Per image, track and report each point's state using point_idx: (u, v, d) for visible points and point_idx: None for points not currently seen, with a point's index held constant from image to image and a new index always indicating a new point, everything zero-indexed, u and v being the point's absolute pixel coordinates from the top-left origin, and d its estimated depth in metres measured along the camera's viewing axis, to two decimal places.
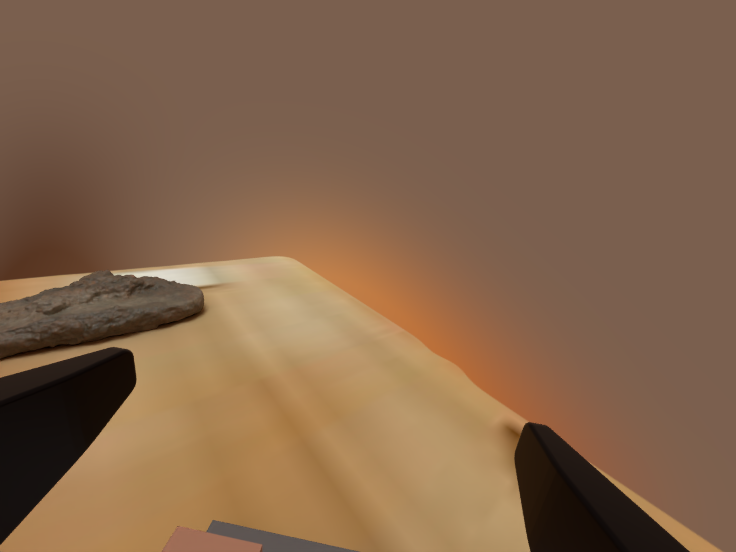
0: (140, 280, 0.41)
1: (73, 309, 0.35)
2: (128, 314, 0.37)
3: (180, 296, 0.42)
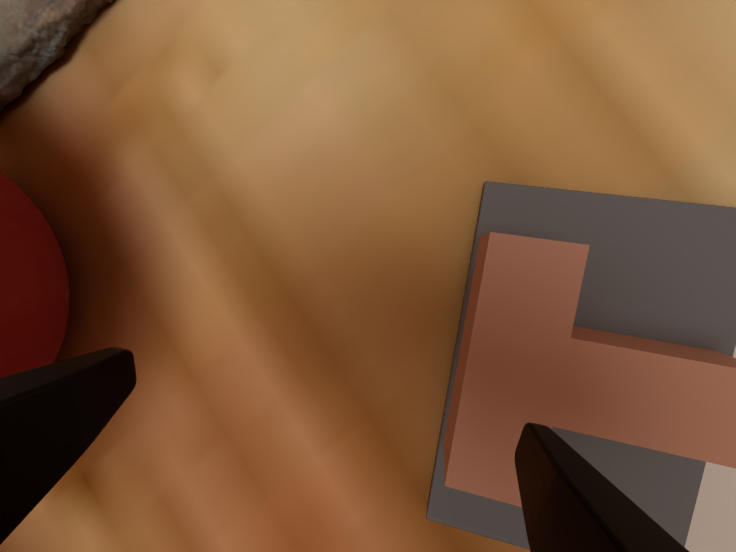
0: None
1: None
2: None
3: None
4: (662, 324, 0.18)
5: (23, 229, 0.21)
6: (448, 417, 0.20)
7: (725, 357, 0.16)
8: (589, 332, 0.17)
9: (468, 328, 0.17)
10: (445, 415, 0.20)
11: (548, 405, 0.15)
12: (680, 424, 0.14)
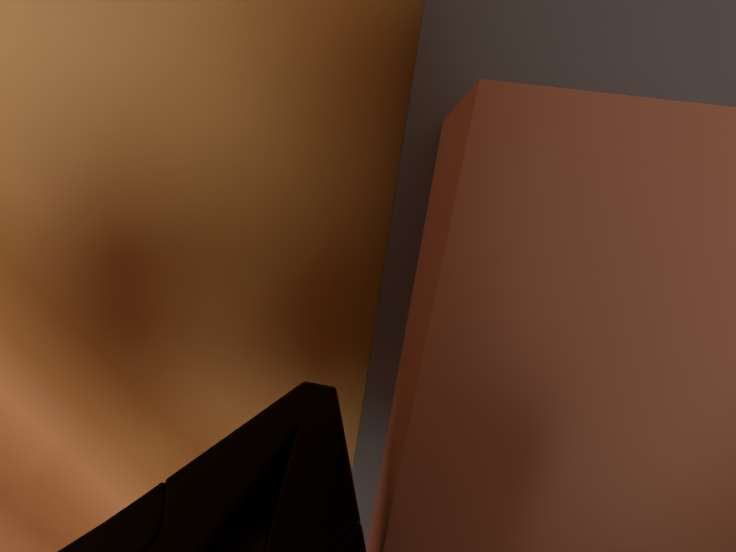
0: None
1: None
2: None
3: None
4: None
5: None
6: (373, 514, 0.10)
7: None
8: None
9: (401, 399, 0.06)
10: None
11: None
12: None
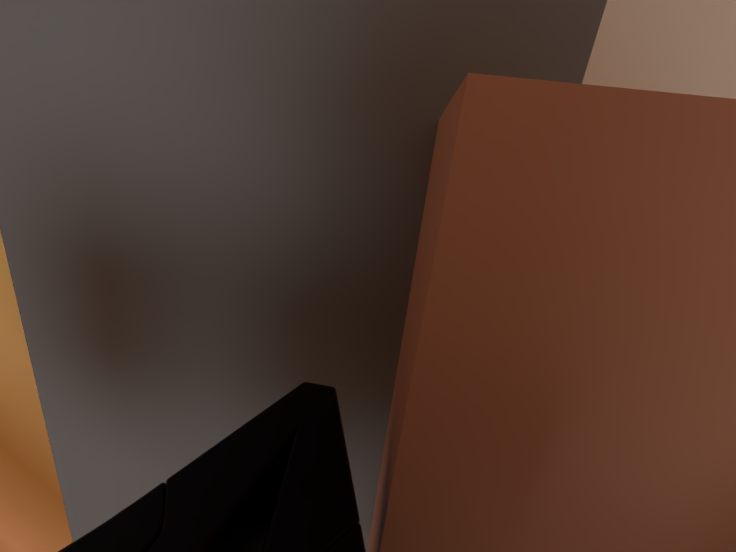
0: None
1: None
2: None
3: None
4: (374, 272, 0.08)
5: None
6: (374, 510, 0.10)
7: None
8: None
9: (399, 392, 0.06)
10: (48, 433, 0.11)
11: None
12: None
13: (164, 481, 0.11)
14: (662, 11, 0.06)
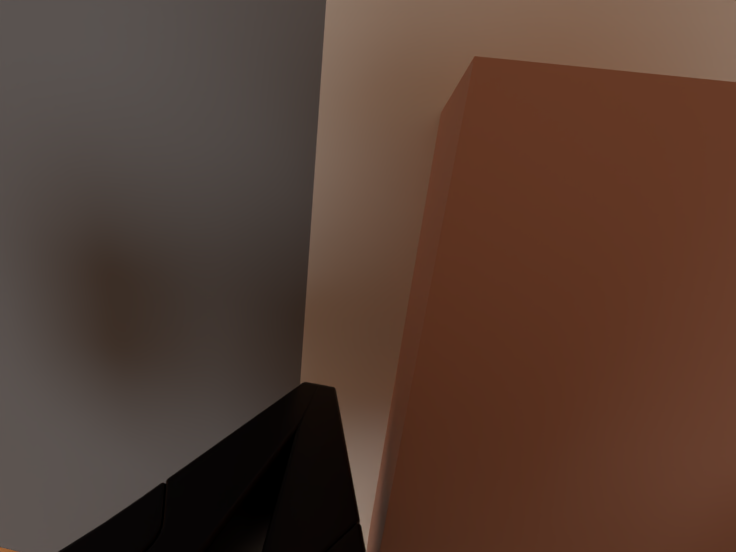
0: None
1: None
2: None
3: None
4: (178, 239, 0.08)
5: None
6: (373, 507, 0.10)
7: None
8: None
9: (400, 387, 0.06)
10: None
11: None
12: None
13: (31, 453, 0.12)
14: None
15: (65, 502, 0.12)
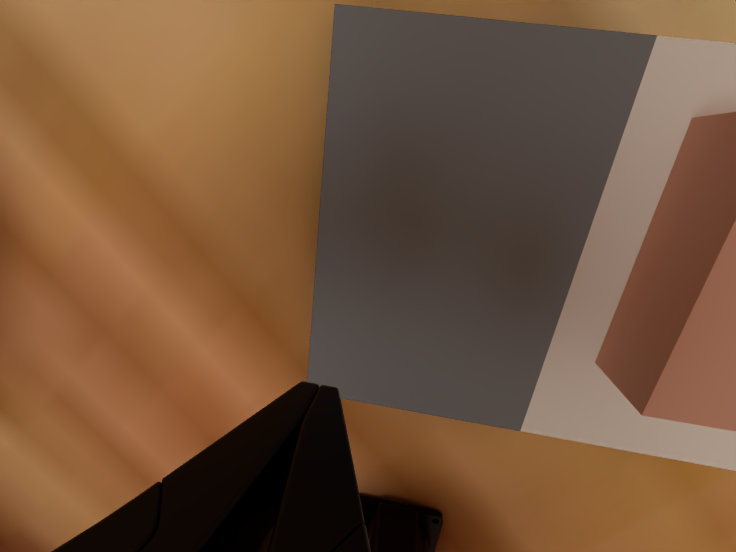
0: None
1: None
2: None
3: None
4: (529, 183, 0.16)
5: None
6: (609, 339, 0.17)
7: None
8: None
9: (685, 240, 0.14)
10: (314, 295, 0.19)
11: None
12: None
13: (382, 322, 0.19)
14: (674, 58, 0.14)
15: (391, 357, 0.20)
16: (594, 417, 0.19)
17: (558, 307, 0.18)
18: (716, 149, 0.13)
